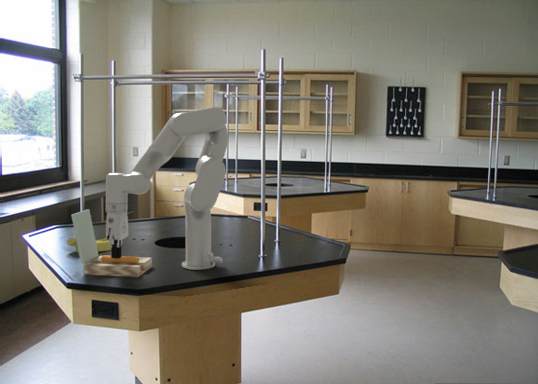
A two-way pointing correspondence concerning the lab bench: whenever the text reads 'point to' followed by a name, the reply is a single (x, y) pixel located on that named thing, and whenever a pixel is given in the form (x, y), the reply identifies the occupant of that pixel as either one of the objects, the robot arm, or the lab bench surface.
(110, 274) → the base
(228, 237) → the lab bench surface
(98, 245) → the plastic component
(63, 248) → the lab bench surface
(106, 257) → the rod
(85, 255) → the plate
